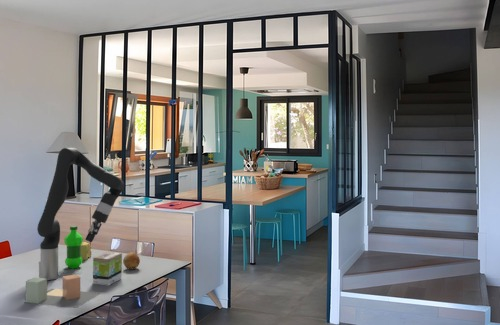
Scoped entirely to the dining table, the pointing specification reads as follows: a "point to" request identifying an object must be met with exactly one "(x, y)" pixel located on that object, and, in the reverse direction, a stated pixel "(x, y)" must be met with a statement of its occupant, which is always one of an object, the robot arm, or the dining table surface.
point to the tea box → (107, 268)
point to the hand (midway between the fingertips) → (88, 241)
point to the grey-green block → (36, 290)
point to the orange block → (71, 287)
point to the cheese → (85, 250)
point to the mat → (57, 299)
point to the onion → (131, 260)
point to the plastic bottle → (73, 248)
